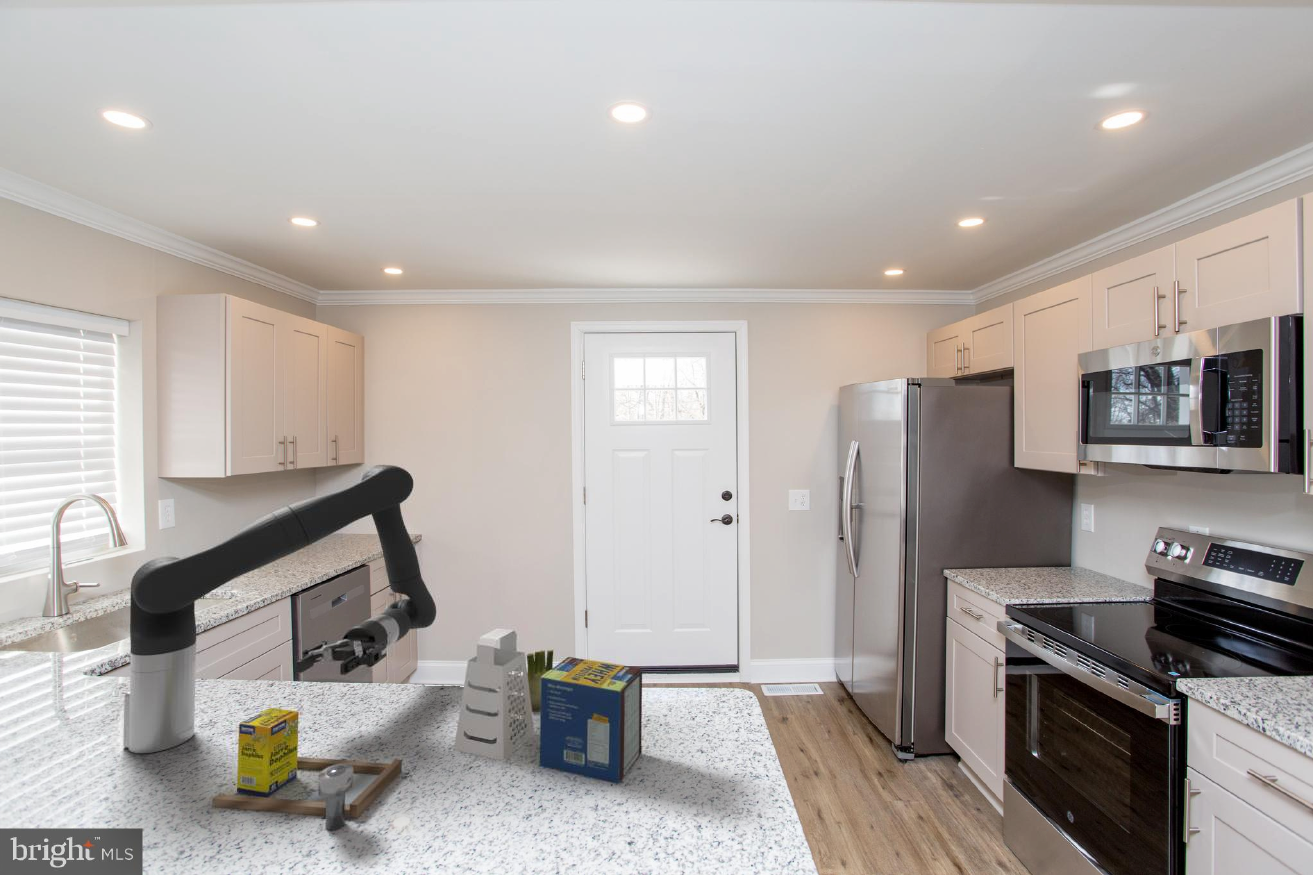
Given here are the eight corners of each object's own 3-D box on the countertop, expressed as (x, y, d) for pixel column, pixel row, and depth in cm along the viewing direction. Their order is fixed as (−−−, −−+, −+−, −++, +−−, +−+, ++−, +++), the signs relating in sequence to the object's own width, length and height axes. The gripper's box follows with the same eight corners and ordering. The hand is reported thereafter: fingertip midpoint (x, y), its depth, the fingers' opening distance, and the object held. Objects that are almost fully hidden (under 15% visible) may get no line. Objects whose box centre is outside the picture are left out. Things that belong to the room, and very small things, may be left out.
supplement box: (267, 798, 91) (269, 727, 91) (235, 792, 92) (237, 723, 92) (298, 776, 97) (300, 710, 97) (267, 772, 98) (269, 706, 98)
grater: (534, 732, 112) (536, 628, 113) (503, 760, 103) (505, 646, 103) (488, 723, 116) (490, 622, 116) (453, 749, 106) (455, 638, 106)
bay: (212, 806, 89) (212, 793, 89) (273, 761, 101) (273, 750, 101) (357, 818, 86) (357, 804, 86) (401, 771, 99) (401, 759, 99)
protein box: (566, 737, 111) (567, 655, 111) (642, 753, 106) (643, 667, 106) (537, 766, 101) (539, 676, 101) (619, 785, 96) (621, 690, 96)
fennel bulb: (553, 702, 126) (554, 646, 126) (552, 713, 121) (553, 654, 121) (525, 703, 125) (526, 647, 125) (523, 714, 120) (524, 655, 120)
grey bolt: (310, 834, 83) (311, 777, 83) (330, 814, 87) (331, 760, 87) (339, 836, 82) (340, 779, 82) (358, 816, 87) (359, 762, 87)
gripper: (339, 618, 123) (283, 646, 107) (404, 620, 122) (357, 649, 106) (339, 654, 123) (283, 687, 107) (404, 656, 122) (357, 691, 106)
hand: (320, 668), depth 106 cm, fingers open, 8 cm apart
